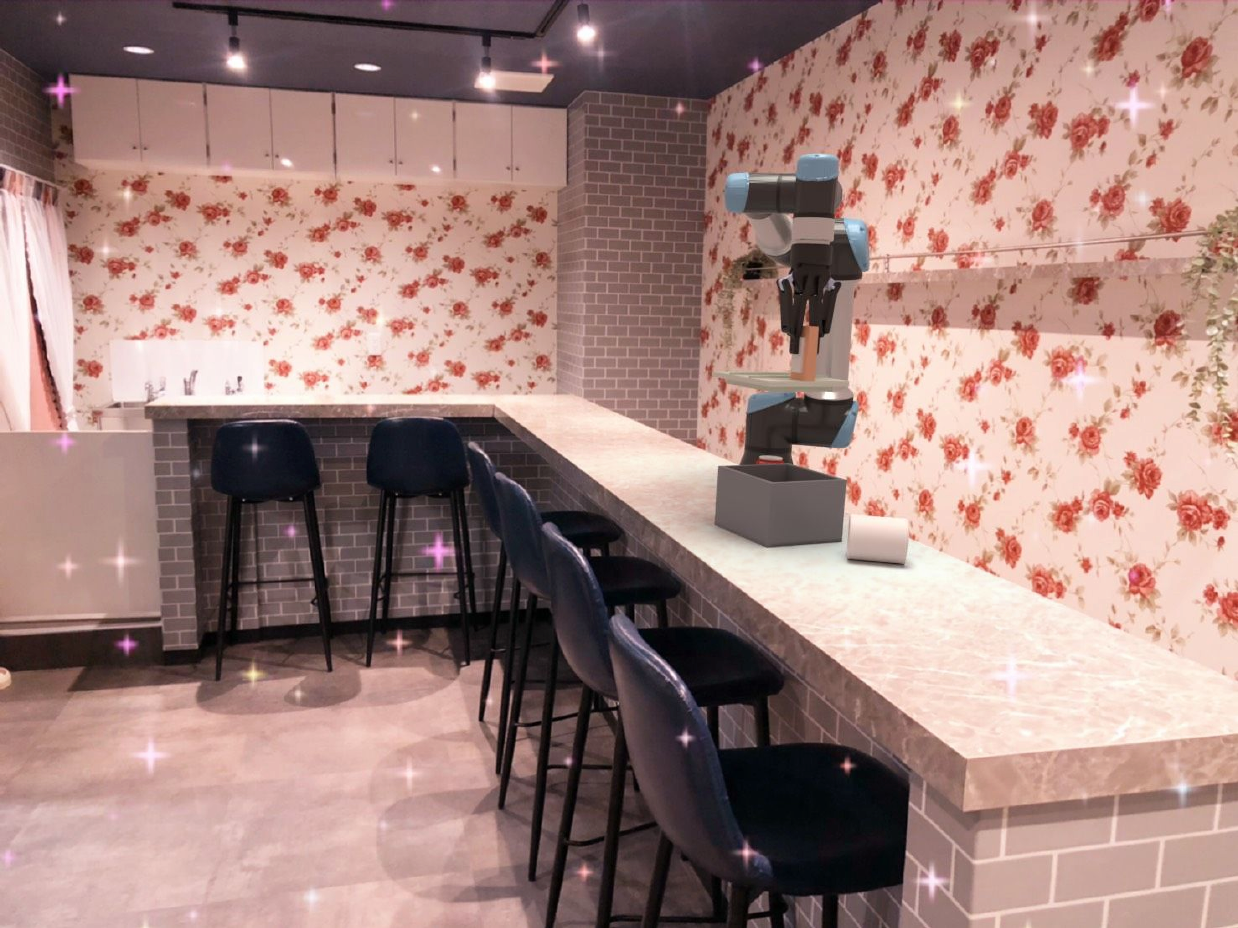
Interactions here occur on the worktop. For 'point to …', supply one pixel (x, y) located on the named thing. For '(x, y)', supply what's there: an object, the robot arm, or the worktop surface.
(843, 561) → the worktop surface
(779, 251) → the robot arm
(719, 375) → the lid
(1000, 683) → the worktop surface
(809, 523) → the tub
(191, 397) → the worktop surface
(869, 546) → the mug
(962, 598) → the worktop surface
